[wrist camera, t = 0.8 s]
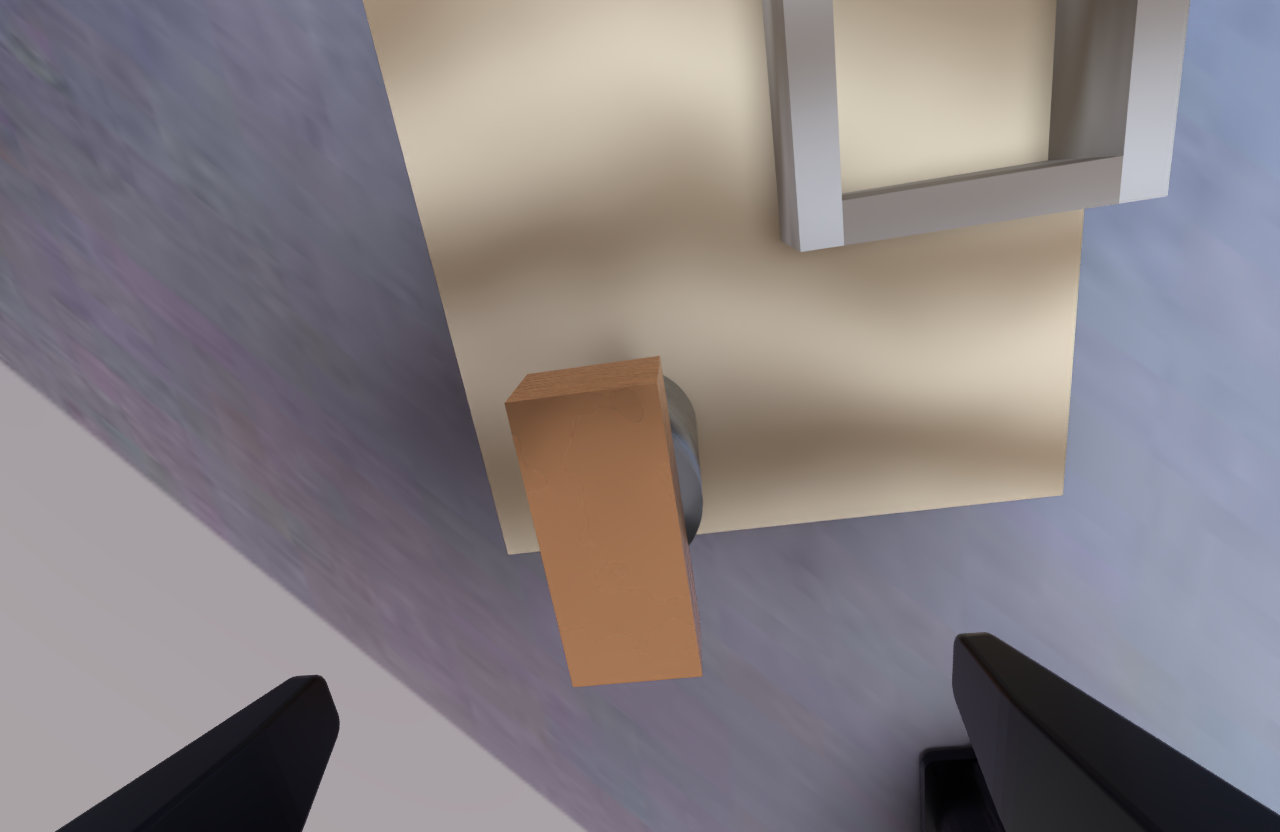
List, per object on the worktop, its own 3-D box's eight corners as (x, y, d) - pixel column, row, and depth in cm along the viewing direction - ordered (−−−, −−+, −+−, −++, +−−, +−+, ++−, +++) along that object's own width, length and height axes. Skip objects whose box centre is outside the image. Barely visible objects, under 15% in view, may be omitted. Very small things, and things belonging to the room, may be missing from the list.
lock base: (1052, 486, 20) (1126, 546, 17) (512, 545, 22) (482, 610, 19) (1100, -222, 14) (1230, -346, 11) (356, -58, 16) (272, -121, 13)
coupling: (709, 519, 21) (724, 674, 14) (590, 532, 21) (552, 689, 15) (681, 309, 18) (683, 379, 12) (548, 328, 19) (480, 406, 12)
